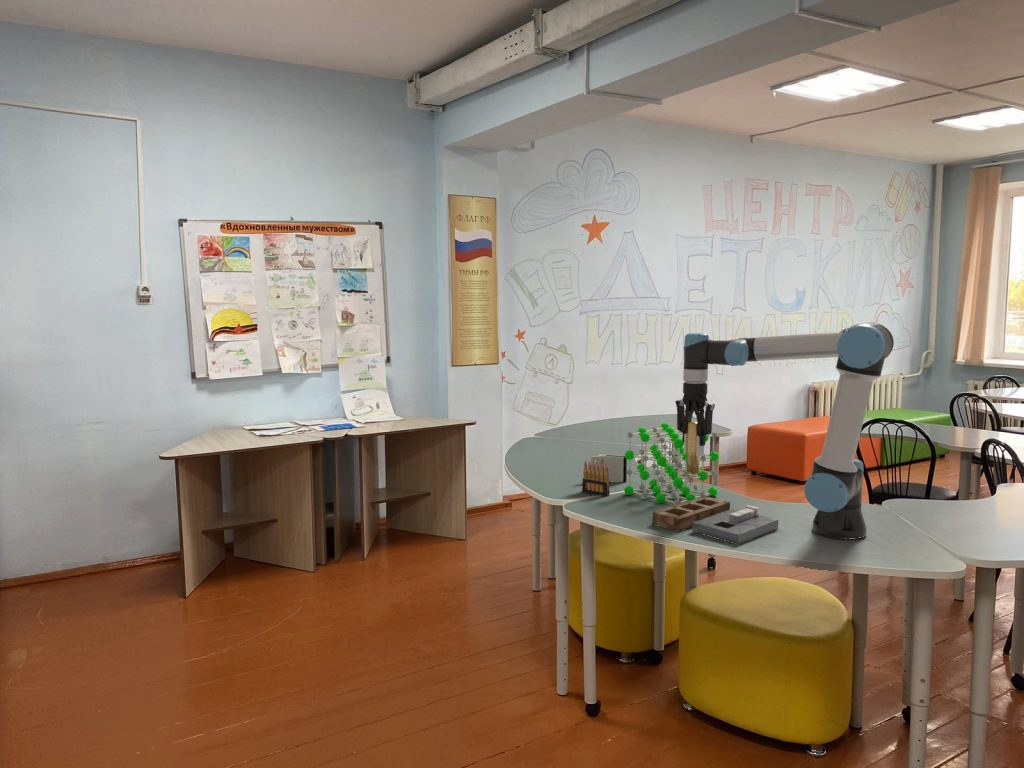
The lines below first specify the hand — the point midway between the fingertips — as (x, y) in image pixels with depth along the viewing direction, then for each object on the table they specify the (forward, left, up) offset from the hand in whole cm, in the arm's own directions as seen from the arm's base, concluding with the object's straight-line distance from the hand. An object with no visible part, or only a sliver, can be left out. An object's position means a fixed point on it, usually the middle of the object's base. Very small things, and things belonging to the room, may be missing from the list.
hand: (693, 454), depth 242 cm
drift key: (-16, -4, -18) cm, 25 cm away
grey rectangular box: (+51, -17, -22) cm, 58 cm away
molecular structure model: (+22, -18, -22) cm, 36 cm away
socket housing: (-16, 0, -21) cm, 27 cm away
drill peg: (0, 0, -6) cm, 6 cm away
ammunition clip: (+42, 0, -22) cm, 47 cm away
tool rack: (0, 0, -21) cm, 21 cm away
